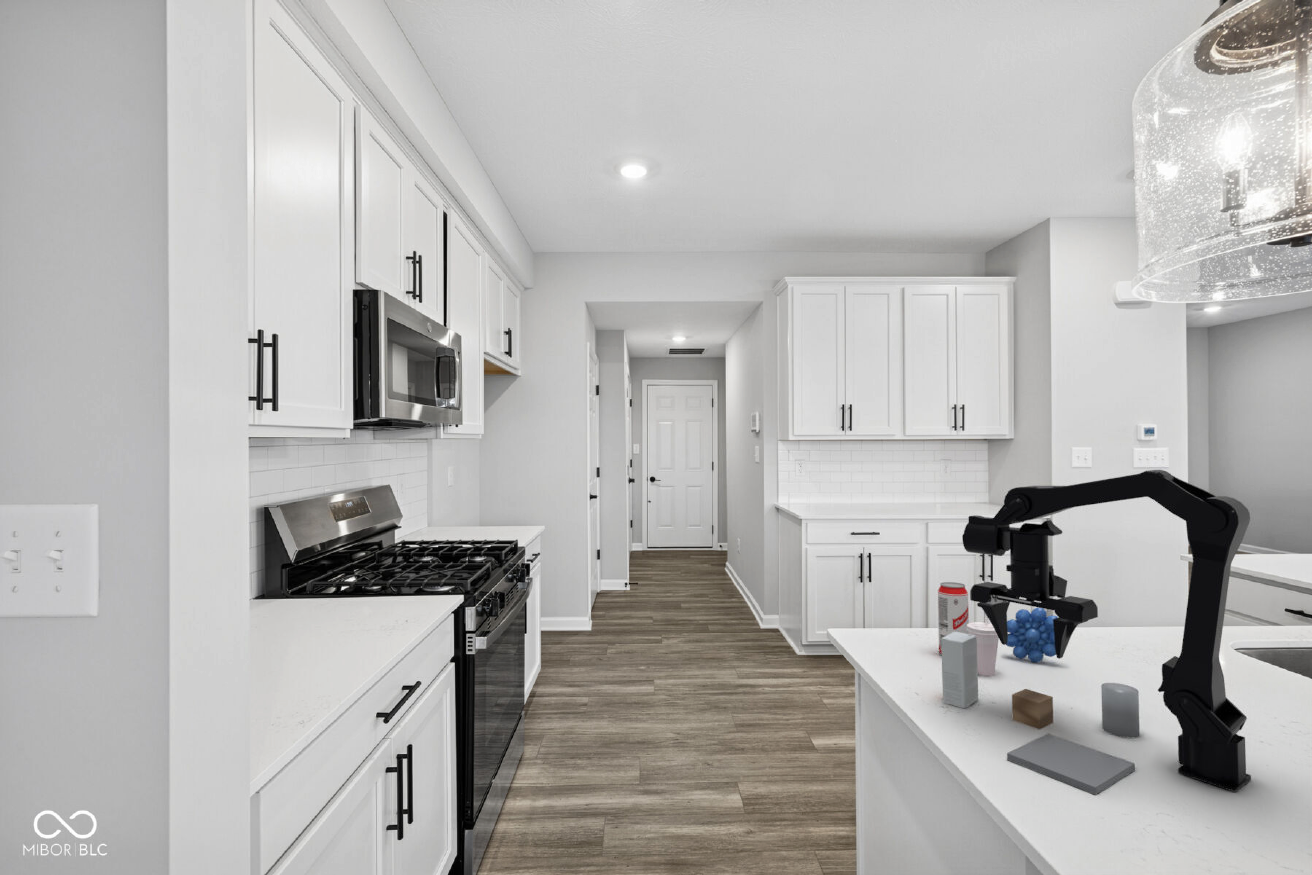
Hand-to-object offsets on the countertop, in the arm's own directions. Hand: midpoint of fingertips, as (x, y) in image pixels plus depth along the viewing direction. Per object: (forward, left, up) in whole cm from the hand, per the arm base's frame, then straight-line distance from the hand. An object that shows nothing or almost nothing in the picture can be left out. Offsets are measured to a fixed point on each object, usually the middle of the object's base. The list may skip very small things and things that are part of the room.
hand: (1031, 650), depth 112 cm
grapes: (+16, -32, -12) cm, 38 cm away
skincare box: (+12, +2, -12) cm, 17 cm away
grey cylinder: (-10, -8, -12) cm, 18 cm away
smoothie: (+18, -16, -12) cm, 27 cm away
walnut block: (0, 0, -12) cm, 12 cm away
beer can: (+28, -21, -12) cm, 37 cm away
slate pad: (-11, +11, -12) cm, 20 cm away
